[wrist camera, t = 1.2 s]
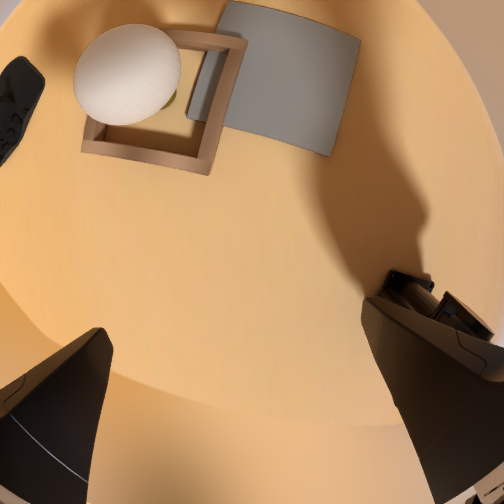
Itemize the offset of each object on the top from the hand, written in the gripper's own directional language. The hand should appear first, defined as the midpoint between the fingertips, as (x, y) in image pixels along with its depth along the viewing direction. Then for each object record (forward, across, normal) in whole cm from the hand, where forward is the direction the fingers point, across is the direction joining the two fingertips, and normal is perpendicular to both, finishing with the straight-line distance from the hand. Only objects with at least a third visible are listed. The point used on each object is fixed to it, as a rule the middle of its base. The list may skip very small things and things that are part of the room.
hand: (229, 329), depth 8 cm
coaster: (+14, -5, -11) cm, 18 cm away
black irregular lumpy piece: (+15, +22, -16) cm, 31 cm away
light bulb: (+14, +4, -11) cm, 18 cm away
